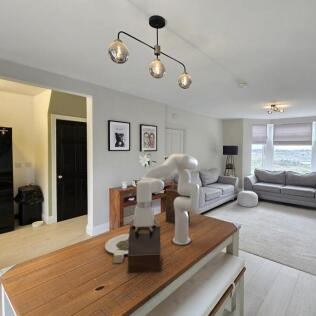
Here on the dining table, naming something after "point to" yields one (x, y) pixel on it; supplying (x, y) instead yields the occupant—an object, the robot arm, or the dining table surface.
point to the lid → (144, 241)
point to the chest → (144, 262)
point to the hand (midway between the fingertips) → (144, 237)
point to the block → (118, 256)
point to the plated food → (118, 244)
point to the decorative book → (172, 204)
